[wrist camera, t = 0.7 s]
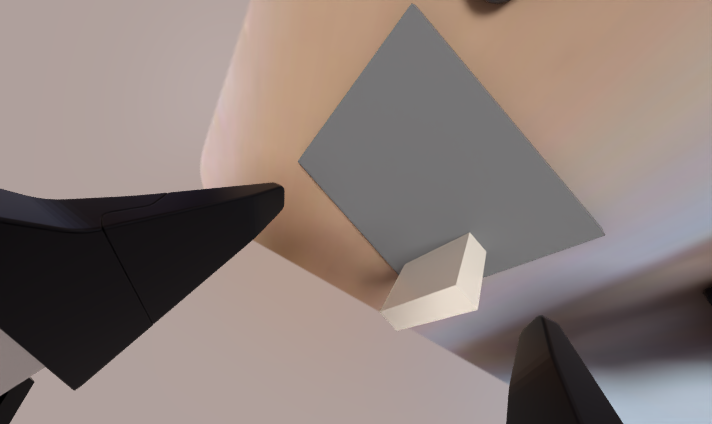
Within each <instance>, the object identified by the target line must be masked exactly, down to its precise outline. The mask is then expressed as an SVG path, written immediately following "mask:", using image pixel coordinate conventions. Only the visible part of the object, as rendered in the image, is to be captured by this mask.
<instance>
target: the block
mask: <svg viewBox="0 0 712 424" xmlns="http://www.w3.org/2000/svg"><path fill="white" fill-rule="evenodd" d="M485 258H486V251H485V249H484V248H483V247H482V246H481V245H480V244H479V242H478V241H477V240H476V239H475V238H474V237H473V236H472V234H471V233H470V232H469V233H467V234H465V235H463V236H461V237H459V238H457V239H455V240H453V241H451V242H449V243H447V244H445V245H443V246H441V247H439V248H437V249H435V250H433V251H431V252H429V253H427V254H425V255H422V256H420V257H418V258H416V259H414V260H412V261H410V262H408V263H406V264H405V265H404V267H403V269H402V270H401V272H400V274H399V276H398V278H397V280H396V282H395V284H394V286H393V287H392V289H391V291H390V293H389V295H388V297H387V299H386V301H385V302H384V304H383V306H382V308H381V310H380V313H381V314H382V315H383V317H384V318H385V319H386V320H387V321H388V322H389V323H390V324H391V325H392V327H393V328H394V329H395V330H396V331H398V330H402V329H406V328H410V327H414V326H418V325H422V324H425V323H429V322H433V321H437V320H441V319H444V318H448V317H452V316H456V315H460V314H463V313H467V312H471V311H475V310H478V305H479V298H480V291H481V285H482V278H483V271H484V265H485Z"/></svg>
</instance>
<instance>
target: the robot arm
mask: <svg viewBox="0 0 712 424" xmlns="http://www.w3.org/2000/svg"><path fill="white" fill-rule="evenodd" d="M283 207H284V188H283V187H282V186H281V185H279V184H277V183H263V184H253V185H242V186H232V187H222V188H212V189H201V190H191V191H181V192H171V193H160V194H149V195H137V196H123V197H104V198H85V199H65V200H64V199H61V200H55V199H42V198H36V197H30V196H26V195H22V194H18V193H15V192H10V191H7V190H4V189H0V424H9V423H10V422H11V420H12V418H13V417H14V415H15V413H16V412H17V410H18V408H19V407H20V405H21V403H22V402H23V400H24V398H25V397H26V395H27V393H28V392H29V390H30V388H31V387H32V385H33V383H34V381H33V379H32V378H31V376H32V375H33V374H35V373H37V372H38V371H40V370H41V369H43V368H44V367H46V368H47V369H49V370H50V371H51V372H52V373H53V374H55V375H56V376H57V377H58V378H59V379H61V380H62V381H63V382H64V383H66V384H67V385H68V386H69V387H70V388H71V389H73V390H76V389H77V388H79V387H80V386H82V385H83V384H84V383H85V382H86V381H88V380H89V379H90V378H91V377H92V376H94V375H95V374H96V373H97V372H98V371H99V370H101V369H102V368H103V367H104V366H105V365H107V364H108V363H109V362H110V361H111V360H112V359H114V358H115V357H116V356H117V355H118V354H119V353H120V352H122V351H123V350H124V349H125V348H126V347H128V346H129V345H130V344H131V343H132V342H133V341H135V340H136V339H137V338H138V337H139V336H141V335H142V334H143V333H144V332H145V331H146V330H148V329H149V328H150V327H151V326H152V325H153V324H154V323H155V322H157V321H158V320H159V319H160V318H161V317H163V316H164V315H165V314H166V313H167V312H168V311H170V310H171V309H172V308H173V307H174V306H176V305H177V304H178V303H179V302H180V301H181V300H183V299H184V298H185V297H186V296H187V295H188V294H190V293H191V292H192V291H193V290H194V289H195V288H197V287H198V286H199V285H200V284H201V283H202V282H204V281H205V280H206V279H207V278H208V277H210V276H211V275H212V274H213V273H214V272H215V271H217V270H218V269H219V268H220V267H221V266H223V265H224V264H225V263H226V262H227V261H228V260H230V259H231V258H232V257H233V256H234V255H235V254H237V253H238V252H239V251H240V250H241V249H243V248H244V247H245V246H246V245H247V244H248V243H250V242H251V241H252V240H253V239H254V238H255V237H256V236H257V235H258V234H259V233H260V232H261V231H262V230H263V229H264V228H265V227H266V226H267V225H268V224H269V223H270V222H271V221H272V220H273V219H274V218H275V217H276V216H277V215H278V214H279V213H280V211H281V210H282V209H283ZM703 294H704V296H705V298H706V299H707V300H708V301H709V303H710V304H711V305H712V287H711V288H708V289H706V290H705V291H704V293H703ZM506 424H623V423H622V421H621V419H620V418H619V416H618V415H617V413H616V412H615V410H614V409H613V407H612V406H611V404H610V403H609V401H608V400H607V398H606V396H605V395H604V393H603V392H602V390H601V389H600V387H599V386H598V384H597V383H596V381H595V380H594V378H593V377H592V375H591V373H590V372H589V370H588V369H587V367H586V366H585V364H584V363H583V361H582V360H581V358H580V357H579V355H578V354H577V352H576V350H575V349H574V347H573V346H572V344H571V343H570V341H569V340H568V338H567V337H566V335H565V334H564V332H563V331H562V329H561V327H560V326H559V325H558V324H557V323H556V322H554V321H552V320H550V319H548V318H546V317H544V316H538V317H536V318H535V319H534V320H533V321H532V322H531V323H530V324H529V325H528V326H527V327H526V328H524V329H523V331H522V332H521V334H520V337H519V341H518V346H517V351H516V356H515V361H514V366H513V370H512V375H511V380H510V386H509V395H508V408H507V422H506Z"/></svg>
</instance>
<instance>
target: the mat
mask: <svg viewBox="0 0 712 424" xmlns="http://www.w3.org/2000/svg"><path fill="white" fill-rule="evenodd" d="M298 162H299V163H300V165H301V166H302V167H303V168H304V169H305V170H306V171H307V172H308V174H309V175H310V176H311V177H312V178H313V179H314V180H315V181H316V183H317V184H318V185H319V186H320V187H321V188H322V189H323V190H324V192H325V193H326V194H327V195H328V196H329V197H330V198H331V199H332V200H333V202H334V203H335V204H336V205H337V206H338V207H339V208H340V209H341V211H342V212H343V213H344V214H345V215H346V216H347V217H348V218H349V220H350V221H351V222H352V223H353V224H354V225H355V226H356V227H357V229H358V230H359V231H360V232H361V233H362V234H363V235H364V236H365V238H366V239H367V240H368V241H369V242H370V243H371V244H372V245H373V247H374V248H375V249H376V250H377V251H378V252H379V253H380V254H381V256H382V257H383V258H384V259H385V260H386V261H387V262H388V263H389V265H390V266H391V267H392V268H393V269H394V270H395V271H396V272H397V274H398V275H399V274H400V272H401V270H402V269H403V267H404V265H405V264H406V263H408V262H410V261H412V260H414V259H416V258H418V257H420V256H422V255H425V254H427V253H429V252H431V251H433V250H435V249H437V248H439V247H441V246H443V245H445V244H447V243H449V242H451V241H453V240H455V239H457V238H459V237H461V236H463V235H465V234H467V233H469V232H470V233H471V234H472V236H473V237H474V238H475V239H476V240H477V241H478V242H479V244H480V245H481V246H482V247H483V248H484V249H485V251H486V258H485V265H484V271H483V278H484V277H487V276H490V275H493V274H495V273H498V272H501V271H504V270H507V269H510V268H513V267H515V266H518V265H521V264H524V263H527V262H530V261H533V260H536V259H538V258H541V257H544V256H547V255H550V254H553V253H556V252H559V251H561V250H564V249H567V248H570V247H573V246H576V245H579V244H582V243H584V242H587V241H590V240H593V239H596V238H599V237H602V236H605V234H604V232H603V230H602V228H601V227H600V226H599V224H598V223H597V222H596V221H595V220H594V218H593V217H592V216H591V215H590V214H589V212H588V211H587V210H586V209H585V208H584V206H583V205H582V204H581V203H580V202H579V200H578V199H577V198H576V197H575V196H574V194H573V193H572V192H571V191H570V190H569V188H568V187H567V186H566V185H565V184H564V182H563V181H562V180H561V179H560V178H559V176H558V175H557V174H556V173H555V172H554V170H553V169H552V168H551V167H550V166H549V164H548V163H547V162H546V161H545V160H544V158H543V157H542V156H541V155H540V154H539V152H538V151H537V150H536V149H535V148H534V146H533V145H532V144H531V143H530V142H529V140H528V139H527V138H526V137H525V136H524V134H523V133H522V132H521V131H520V130H519V128H518V127H517V126H516V125H515V124H514V122H513V121H512V120H511V119H510V118H509V116H508V115H507V114H506V113H505V112H504V110H503V109H502V108H501V107H500V106H499V104H498V103H497V102H496V101H495V100H494V98H493V97H492V96H491V95H490V94H489V92H488V91H487V90H486V89H485V88H484V86H483V85H482V84H481V83H480V82H479V80H478V79H477V78H476V77H475V76H474V74H473V73H472V72H471V71H470V70H469V68H468V67H467V66H466V65H465V64H464V62H463V61H462V60H461V59H460V58H459V56H458V55H457V54H456V53H455V52H454V50H453V49H452V48H451V47H450V46H449V45H448V43H447V42H446V41H445V40H444V39H443V37H442V36H441V35H440V34H439V33H438V31H437V30H436V29H435V28H434V27H433V25H432V24H431V23H430V22H429V21H428V19H427V18H426V17H425V16H424V15H423V13H422V12H421V11H420V10H419V9H418V7H417V6H416V5H414V4H411V5H410V6H409V8H408V9H407V11H406V12H405V13H404V15H403V16H402V17H401V19H400V20H399V22H398V23H397V24H396V26H395V27H394V29H393V30H392V31H391V33H390V34H389V36H388V37H387V38H386V40H385V41H384V42H383V44H382V45H381V47H380V48H379V49H378V51H377V52H376V54H375V55H374V56H373V58H372V59H371V60H370V62H369V63H368V65H367V66H366V67H365V69H364V70H363V72H362V73H361V74H360V76H359V77H358V79H357V80H356V81H355V83H354V84H353V85H352V87H351V88H350V90H349V91H348V92H347V94H346V95H345V97H344V98H343V99H342V101H341V102H340V103H339V105H338V106H337V108H336V109H335V110H334V112H333V113H332V115H331V116H330V117H329V119H328V120H327V122H326V123H325V124H324V126H323V127H322V128H321V130H320V131H319V133H318V134H317V135H316V137H315V138H314V140H313V141H312V142H311V144H310V145H309V146H308V148H307V149H306V151H305V152H304V153H303V155H302V156H301V158H300V159H299V160H298Z"/></svg>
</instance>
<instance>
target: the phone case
mask: <svg viewBox="0 0 712 424" xmlns="http://www.w3.org/2000/svg"><path fill="white" fill-rule="evenodd" d="M486 1H487V2H489V3H494V4H496V3H503V2H506V1H508V0H486Z"/></svg>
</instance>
